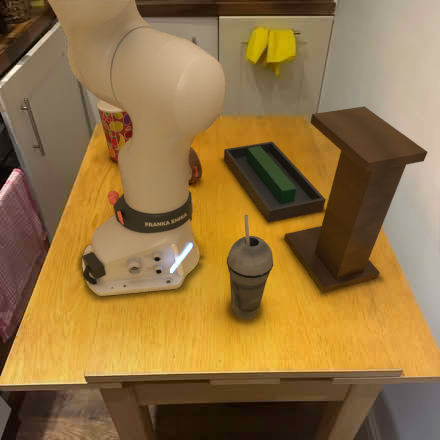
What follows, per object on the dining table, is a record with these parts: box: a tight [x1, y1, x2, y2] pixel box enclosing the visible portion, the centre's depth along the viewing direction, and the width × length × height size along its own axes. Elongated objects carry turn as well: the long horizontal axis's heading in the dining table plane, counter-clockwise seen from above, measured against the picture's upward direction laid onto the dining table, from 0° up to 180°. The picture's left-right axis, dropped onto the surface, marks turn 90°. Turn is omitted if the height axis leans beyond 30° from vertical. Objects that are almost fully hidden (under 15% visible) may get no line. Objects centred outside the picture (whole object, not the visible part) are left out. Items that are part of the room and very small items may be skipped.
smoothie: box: [96, 98, 133, 163], centre depth 98 cm, size 8×8×20 cm
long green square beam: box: [247, 146, 296, 204], centre depth 97 cm, size 4×20×4 cm, turn 20°
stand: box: [284, 106, 429, 293], centre depth 72 cm, size 12×16×26 cm
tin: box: [188, 146, 203, 184], centre depth 98 cm, size 15×3×8 cm, turn 34°
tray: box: [223, 141, 327, 223], centre depth 98 cm, size 14×28×3 cm, turn 20°
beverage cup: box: [226, 214, 274, 320], centre depth 64 cm, size 7×7×20 cm
